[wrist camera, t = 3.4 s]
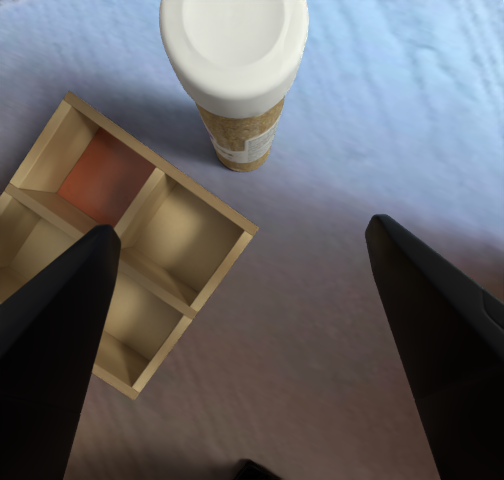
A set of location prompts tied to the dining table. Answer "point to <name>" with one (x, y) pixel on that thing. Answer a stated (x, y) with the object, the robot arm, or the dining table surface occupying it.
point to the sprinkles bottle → (236, 67)
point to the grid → (119, 234)
